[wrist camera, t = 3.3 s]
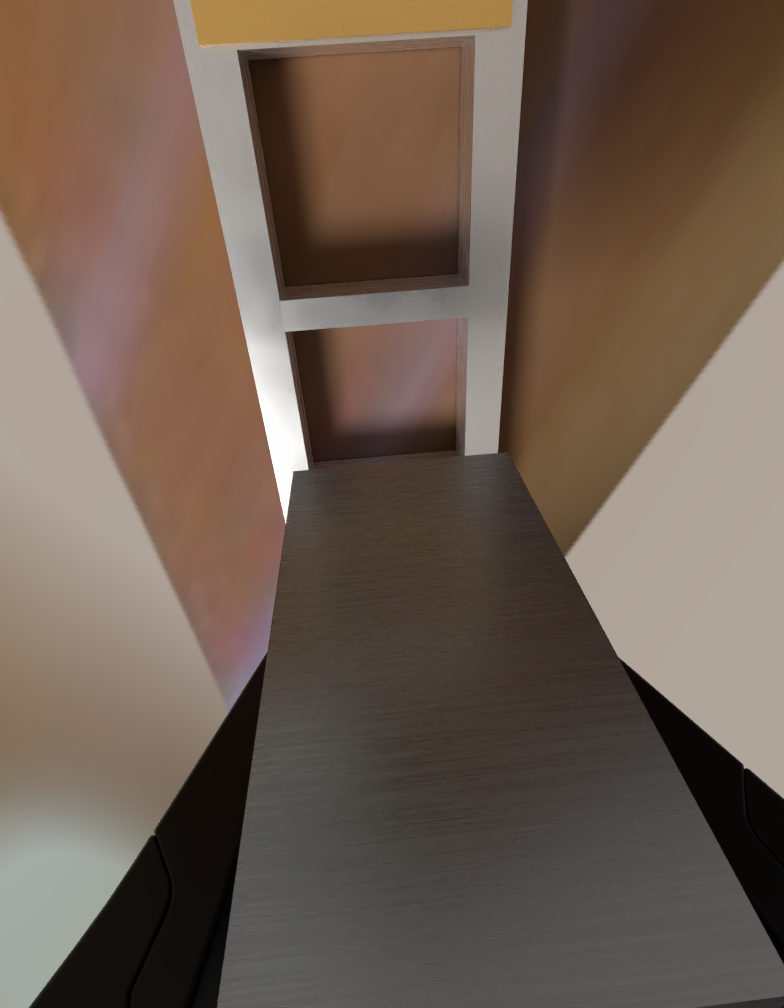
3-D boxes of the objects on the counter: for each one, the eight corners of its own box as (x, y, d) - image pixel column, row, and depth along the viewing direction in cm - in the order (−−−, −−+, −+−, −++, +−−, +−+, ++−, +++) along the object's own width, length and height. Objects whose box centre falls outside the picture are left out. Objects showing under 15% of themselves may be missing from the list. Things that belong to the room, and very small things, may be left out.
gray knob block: (495, 604, 13) (670, 1122, 6) (321, 621, 13) (300, 1173, 6) (507, 452, 10) (821, 1034, 4) (293, 471, 10) (201, 1115, 3)
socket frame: (482, 503, 22) (494, 531, 21) (294, 520, 22) (290, 551, 20) (542, -691, 9) (589, -884, 7) (50, -683, 8) (-19, -883, 7)
